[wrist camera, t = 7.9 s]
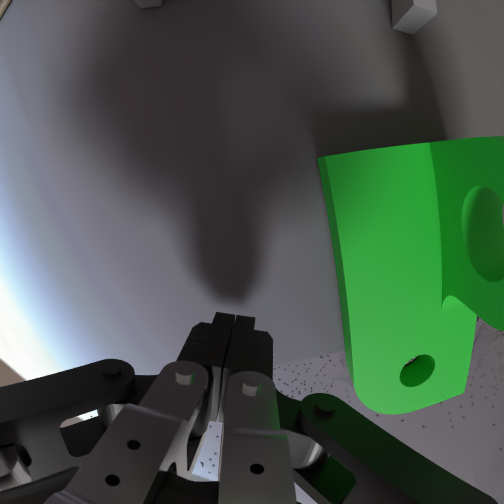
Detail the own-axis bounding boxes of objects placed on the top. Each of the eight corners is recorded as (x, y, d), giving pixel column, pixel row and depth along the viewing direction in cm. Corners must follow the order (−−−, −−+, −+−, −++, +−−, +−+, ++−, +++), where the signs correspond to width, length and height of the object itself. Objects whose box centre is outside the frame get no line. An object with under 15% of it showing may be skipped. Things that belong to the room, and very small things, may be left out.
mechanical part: (316, 158, 12) (390, 140, 4) (445, 141, 11) (588, 135, 3) (348, 400, 15) (380, 529, 7) (448, 372, 14) (515, 472, 6)
